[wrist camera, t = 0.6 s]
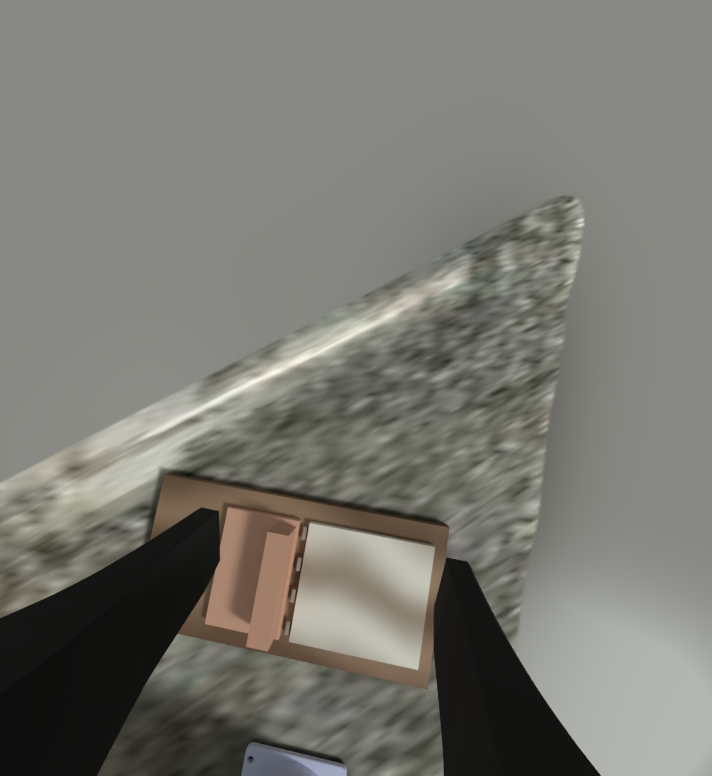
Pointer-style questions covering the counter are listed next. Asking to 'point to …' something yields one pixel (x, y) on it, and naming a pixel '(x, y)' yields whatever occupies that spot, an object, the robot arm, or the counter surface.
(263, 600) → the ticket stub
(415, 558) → the board
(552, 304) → the counter surface
